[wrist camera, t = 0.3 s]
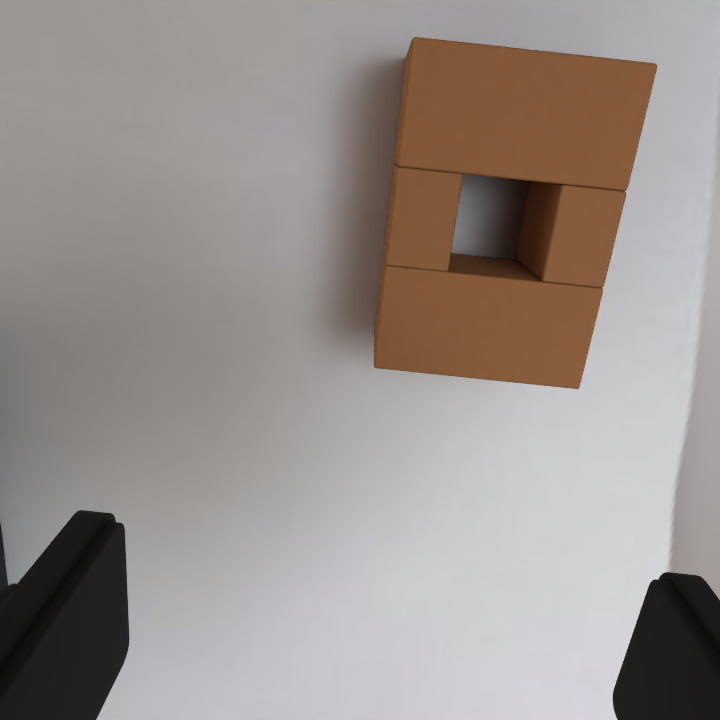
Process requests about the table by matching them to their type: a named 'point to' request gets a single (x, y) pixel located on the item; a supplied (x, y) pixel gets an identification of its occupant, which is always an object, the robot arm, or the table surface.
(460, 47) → the brown block with hole
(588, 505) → the table surface
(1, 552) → the charcoal back pad
